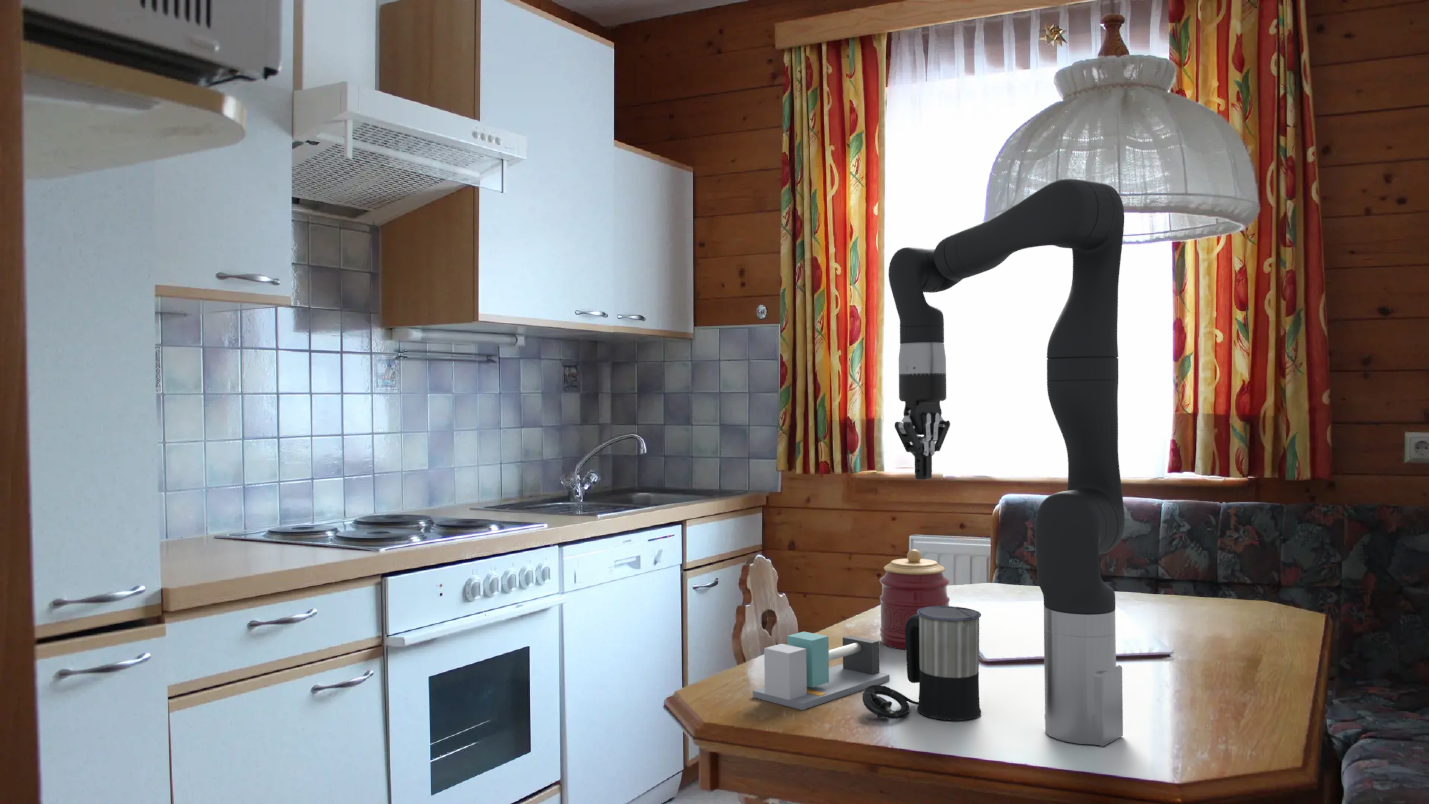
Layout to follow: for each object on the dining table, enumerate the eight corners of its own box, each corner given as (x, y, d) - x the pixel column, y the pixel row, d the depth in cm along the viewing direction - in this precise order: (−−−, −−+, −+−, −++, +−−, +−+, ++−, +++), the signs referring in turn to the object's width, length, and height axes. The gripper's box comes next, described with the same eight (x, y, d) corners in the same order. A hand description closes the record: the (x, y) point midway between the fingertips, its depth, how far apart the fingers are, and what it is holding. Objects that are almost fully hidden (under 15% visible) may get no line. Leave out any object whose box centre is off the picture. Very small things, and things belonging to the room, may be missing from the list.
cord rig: (889, 680, 170) (889, 631, 170) (802, 710, 155) (801, 656, 155) (840, 670, 178) (840, 623, 178) (752, 697, 162) (752, 645, 162)
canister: (931, 654, 188) (930, 556, 188) (867, 645, 195) (866, 550, 195) (961, 641, 198) (960, 547, 198) (899, 632, 206) (898, 542, 206)
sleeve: (829, 682, 163) (828, 636, 163) (812, 687, 161) (812, 640, 160) (804, 676, 167) (803, 631, 167) (787, 681, 164) (787, 635, 164)
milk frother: (994, 712, 153) (993, 611, 153) (931, 737, 142) (930, 628, 142) (914, 693, 163) (913, 598, 163) (849, 715, 152) (848, 613, 152)
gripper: (918, 370, 162) (920, 482, 162) (964, 371, 171) (965, 477, 171) (878, 372, 167) (880, 480, 167) (925, 373, 176) (926, 475, 176)
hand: (923, 478), depth 169 cm, fingers closed
